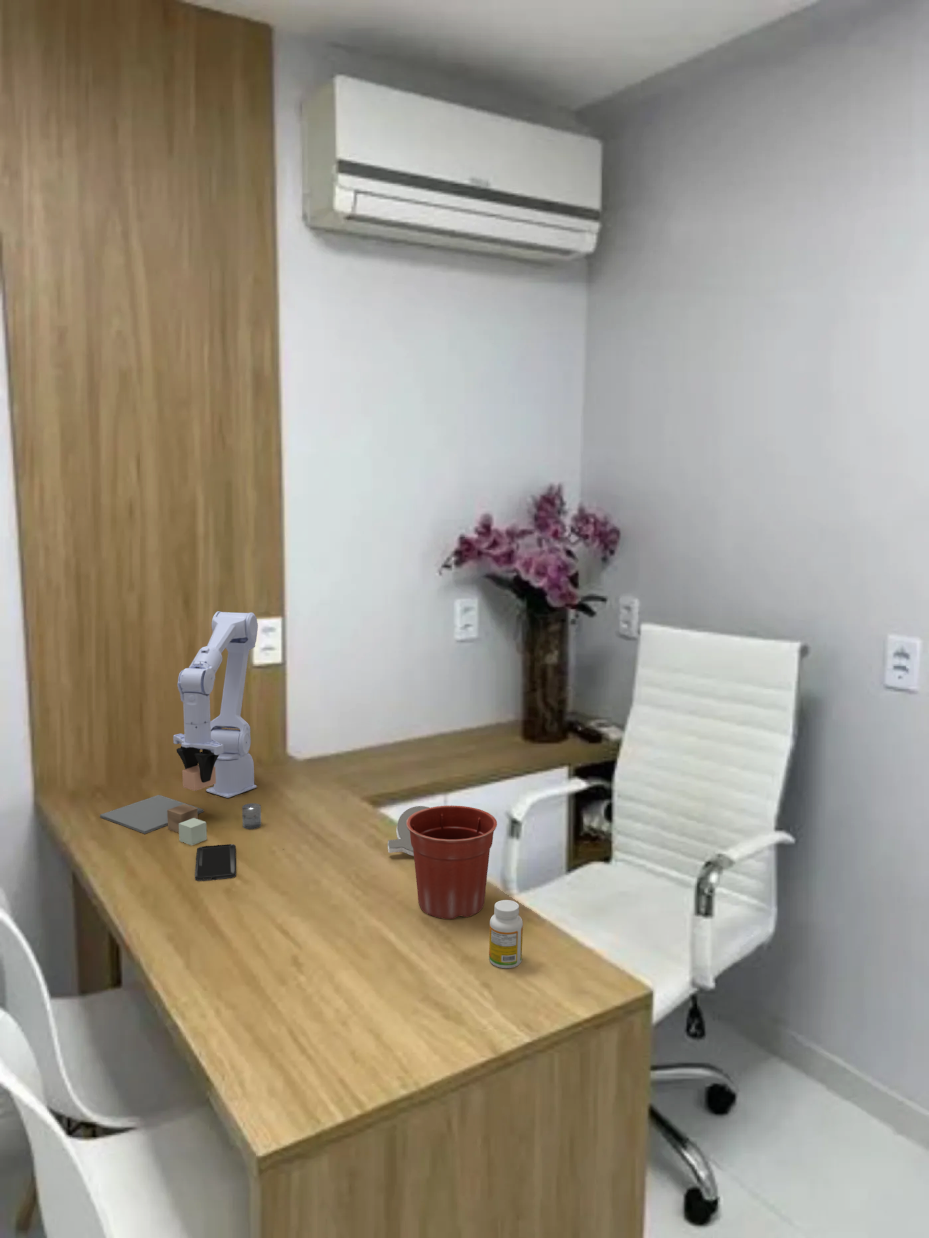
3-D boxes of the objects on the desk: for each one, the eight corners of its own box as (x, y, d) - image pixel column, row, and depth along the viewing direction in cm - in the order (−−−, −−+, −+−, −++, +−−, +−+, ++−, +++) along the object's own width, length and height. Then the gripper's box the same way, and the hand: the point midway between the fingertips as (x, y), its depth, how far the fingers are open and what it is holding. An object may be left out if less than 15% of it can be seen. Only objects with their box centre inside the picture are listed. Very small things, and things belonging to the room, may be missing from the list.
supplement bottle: (502, 948, 157) (503, 894, 155) (528, 959, 154) (529, 904, 152) (482, 961, 153) (483, 906, 151) (508, 973, 150) (510, 916, 148)
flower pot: (416, 931, 163) (417, 843, 160) (397, 889, 178) (398, 809, 175) (506, 920, 167) (508, 835, 164) (480, 880, 183) (482, 802, 180)
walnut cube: (184, 823, 209) (183, 804, 208) (198, 827, 207) (197, 808, 206) (168, 829, 205) (167, 810, 205) (181, 834, 203) (180, 814, 202)
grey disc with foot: (391, 860, 189) (386, 804, 193) (385, 865, 197) (381, 812, 201) (462, 853, 193) (456, 799, 197) (454, 859, 200) (449, 807, 204)
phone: (235, 843, 196) (236, 874, 182) (235, 848, 197) (236, 879, 182) (196, 846, 194) (193, 877, 180) (196, 852, 195) (194, 883, 180)
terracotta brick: (203, 779, 215) (203, 763, 214) (215, 783, 213) (215, 766, 212) (182, 787, 210) (182, 770, 209) (194, 790, 208) (194, 773, 207)
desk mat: (159, 797, 224) (158, 794, 224) (203, 811, 216) (203, 809, 215) (100, 817, 211) (99, 814, 211) (144, 833, 203) (144, 831, 202)
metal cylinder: (252, 821, 211) (251, 801, 210) (264, 825, 209) (264, 805, 208) (238, 826, 207) (238, 807, 207) (251, 830, 205) (250, 811, 205)
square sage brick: (194, 835, 202) (193, 817, 202) (206, 839, 200) (206, 822, 200) (179, 841, 199) (178, 823, 198) (191, 845, 197) (191, 827, 196)
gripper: (161, 719, 210) (163, 777, 212) (205, 730, 202) (207, 790, 204) (186, 712, 215) (188, 769, 218) (230, 723, 207) (231, 781, 210)
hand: (199, 779), depth 211 cm, fingers closed on terracotta brick, 4 cm apart
